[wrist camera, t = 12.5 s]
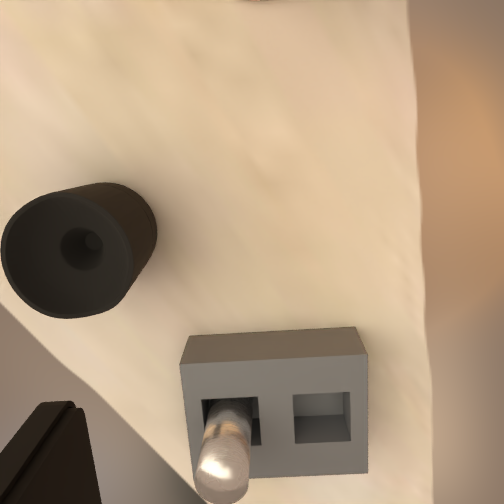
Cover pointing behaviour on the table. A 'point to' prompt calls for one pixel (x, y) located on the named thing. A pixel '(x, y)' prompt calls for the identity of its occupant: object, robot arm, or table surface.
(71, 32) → the table surface
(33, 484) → the robot arm
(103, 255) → the pen holder
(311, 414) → the hole block
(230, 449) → the steel pin
